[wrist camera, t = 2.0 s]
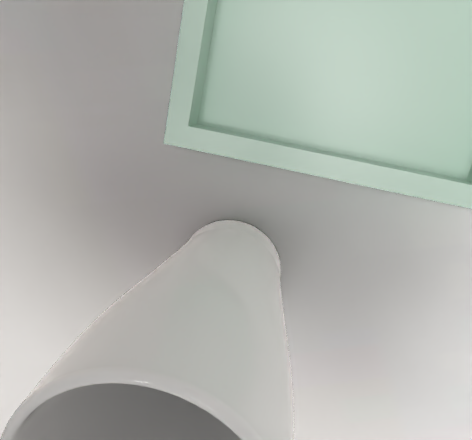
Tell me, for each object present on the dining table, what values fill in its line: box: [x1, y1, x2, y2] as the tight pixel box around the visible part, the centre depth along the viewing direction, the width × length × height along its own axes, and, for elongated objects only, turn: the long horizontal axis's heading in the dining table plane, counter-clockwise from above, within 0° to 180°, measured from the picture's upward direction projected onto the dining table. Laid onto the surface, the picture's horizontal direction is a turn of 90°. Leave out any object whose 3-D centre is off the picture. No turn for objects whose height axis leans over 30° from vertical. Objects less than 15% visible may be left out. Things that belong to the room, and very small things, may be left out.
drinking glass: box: [0, 220, 294, 440], centre depth 17 cm, size 7×7×15 cm
